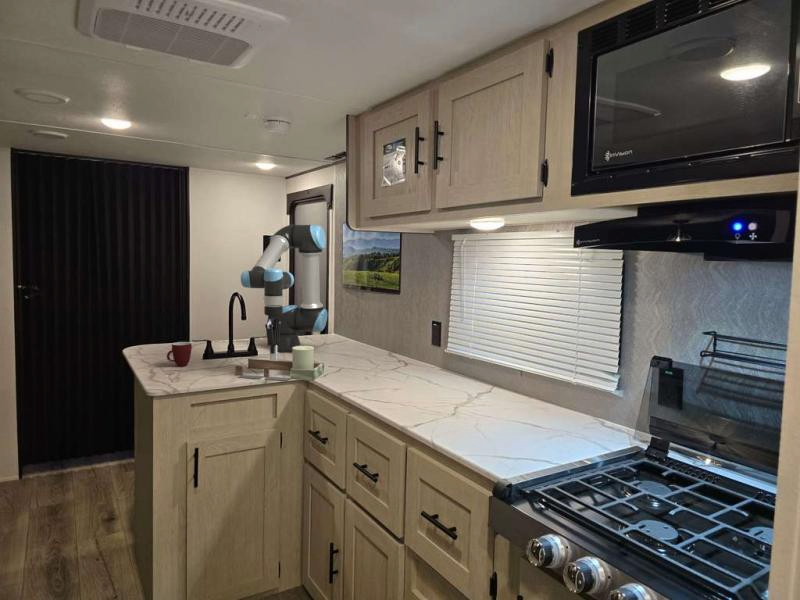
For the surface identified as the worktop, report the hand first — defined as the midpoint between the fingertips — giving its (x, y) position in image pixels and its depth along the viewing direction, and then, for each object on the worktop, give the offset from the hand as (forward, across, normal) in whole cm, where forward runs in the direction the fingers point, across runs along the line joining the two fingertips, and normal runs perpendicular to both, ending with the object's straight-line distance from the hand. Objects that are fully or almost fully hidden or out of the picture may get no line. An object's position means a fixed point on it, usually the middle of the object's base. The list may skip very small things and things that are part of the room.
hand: (273, 360), depth 228 cm
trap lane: (+6, +1, +3) cm, 6 cm away
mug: (+6, -2, -44) cm, 44 cm away
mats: (+5, +10, 0) cm, 11 cm away
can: (+6, -1, +13) cm, 14 cm away
